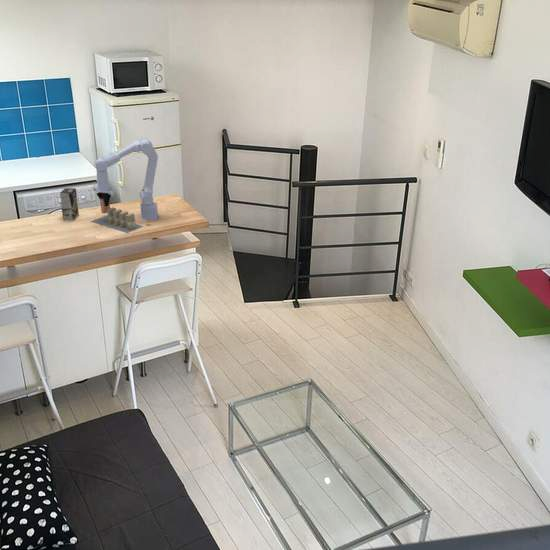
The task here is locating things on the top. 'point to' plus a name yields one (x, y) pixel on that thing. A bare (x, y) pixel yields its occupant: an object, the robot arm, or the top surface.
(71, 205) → the coffee box
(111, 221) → the grey wood block
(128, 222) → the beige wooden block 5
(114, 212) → the grey wooden block
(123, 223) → the wooden block
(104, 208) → the terracotta tile
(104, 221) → the slate mat
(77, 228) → the top surface
